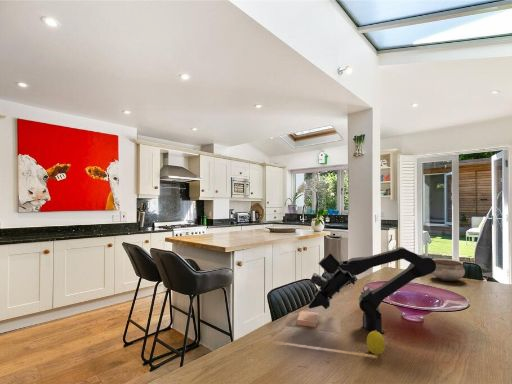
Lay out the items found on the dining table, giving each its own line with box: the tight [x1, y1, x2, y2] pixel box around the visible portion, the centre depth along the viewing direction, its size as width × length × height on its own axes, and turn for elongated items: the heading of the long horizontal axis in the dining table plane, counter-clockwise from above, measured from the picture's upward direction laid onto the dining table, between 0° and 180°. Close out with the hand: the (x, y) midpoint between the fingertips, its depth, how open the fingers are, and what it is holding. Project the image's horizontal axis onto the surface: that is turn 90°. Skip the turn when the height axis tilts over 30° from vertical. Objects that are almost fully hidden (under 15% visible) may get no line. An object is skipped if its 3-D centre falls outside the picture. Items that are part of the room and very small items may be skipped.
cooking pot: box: [431, 258, 466, 283], centre depth 187 cm, size 25×19×12 cm
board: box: [282, 312, 342, 334], centre depth 120 cm, size 22×14×1 cm, turn 73°
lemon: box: [366, 330, 386, 357], centre depth 95 cm, size 6×6×8 cm
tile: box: [297, 310, 319, 327], centre depth 120 cm, size 2×10×8 cm
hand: (309, 307), depth 120 cm, fingers closed
